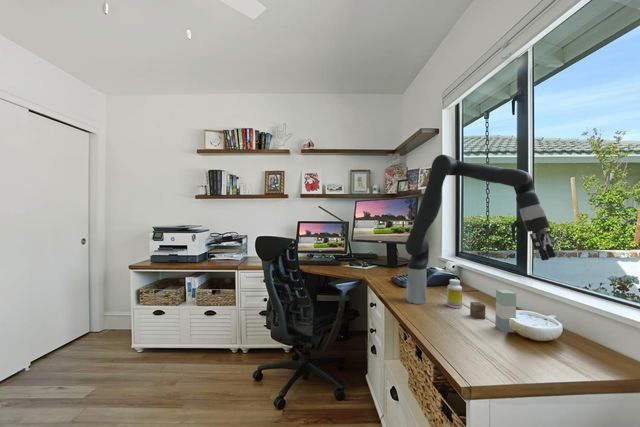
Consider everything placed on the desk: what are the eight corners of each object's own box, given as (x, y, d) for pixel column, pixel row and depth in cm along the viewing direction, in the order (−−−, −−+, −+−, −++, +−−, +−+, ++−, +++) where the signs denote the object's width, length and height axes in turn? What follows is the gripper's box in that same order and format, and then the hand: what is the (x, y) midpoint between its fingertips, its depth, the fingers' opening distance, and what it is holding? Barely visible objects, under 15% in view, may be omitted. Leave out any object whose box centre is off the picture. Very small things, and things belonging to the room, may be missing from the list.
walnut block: (474, 318, 126) (474, 304, 126) (470, 315, 130) (470, 301, 130) (485, 319, 126) (485, 305, 126) (480, 315, 130) (480, 302, 130)
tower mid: (502, 318, 112) (502, 305, 112) (495, 314, 117) (495, 301, 117) (515, 319, 112) (516, 306, 112) (508, 314, 117) (509, 302, 117)
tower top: (502, 305, 112) (502, 293, 112) (495, 301, 117) (496, 289, 117) (516, 306, 112) (516, 293, 112) (509, 302, 117) (509, 290, 117)
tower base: (501, 331, 112) (502, 318, 112) (495, 326, 117) (495, 314, 117) (515, 332, 112) (515, 319, 112) (508, 327, 117) (508, 314, 117)
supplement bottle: (463, 309, 139) (464, 282, 138) (448, 308, 140) (449, 281, 140) (459, 304, 145) (460, 279, 145) (445, 303, 146) (446, 278, 146)
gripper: (529, 220, 121) (543, 258, 118) (516, 221, 113) (531, 262, 109) (550, 214, 116) (566, 254, 112) (538, 215, 107) (555, 259, 103)
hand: (549, 258), depth 110 cm, fingers open, 8 cm apart
